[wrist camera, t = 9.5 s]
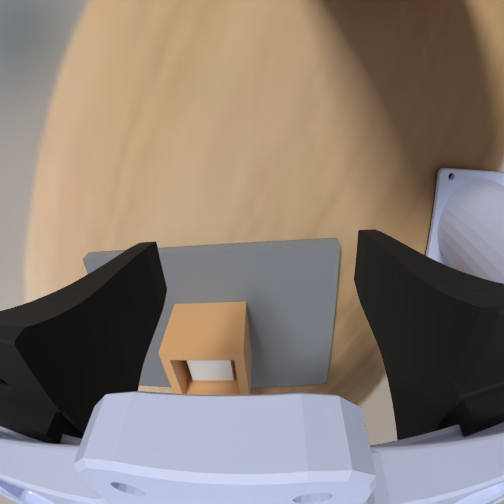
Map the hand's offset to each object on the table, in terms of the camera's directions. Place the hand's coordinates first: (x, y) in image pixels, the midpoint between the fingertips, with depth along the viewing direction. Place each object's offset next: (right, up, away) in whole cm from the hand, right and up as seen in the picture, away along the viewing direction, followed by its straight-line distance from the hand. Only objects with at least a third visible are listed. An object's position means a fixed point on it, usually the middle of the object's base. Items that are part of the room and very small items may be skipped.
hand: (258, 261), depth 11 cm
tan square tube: (-3, -7, +13) cm, 16 cm away
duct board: (-3, -5, +14) cm, 15 cm away
